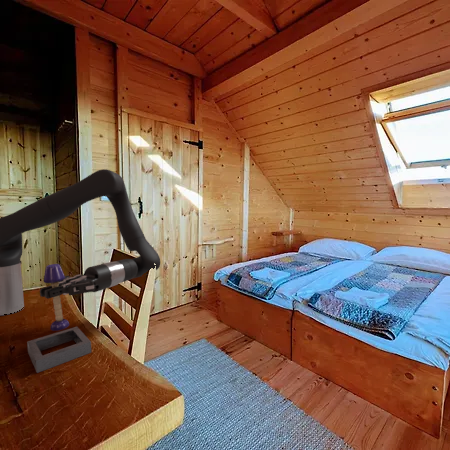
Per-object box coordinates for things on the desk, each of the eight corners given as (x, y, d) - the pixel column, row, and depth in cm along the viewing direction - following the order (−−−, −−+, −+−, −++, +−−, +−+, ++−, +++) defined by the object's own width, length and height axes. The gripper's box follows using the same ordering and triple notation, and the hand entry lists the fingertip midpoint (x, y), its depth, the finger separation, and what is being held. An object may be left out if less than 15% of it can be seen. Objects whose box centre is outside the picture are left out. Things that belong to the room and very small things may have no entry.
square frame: (36, 373, 63) (36, 360, 62) (28, 352, 71) (27, 341, 71) (91, 352, 71) (90, 341, 71) (77, 336, 80) (77, 326, 79)
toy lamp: (46, 333, 68) (41, 268, 66) (49, 325, 72) (43, 264, 70) (68, 328, 70) (63, 265, 68) (69, 321, 74) (65, 261, 72)
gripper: (90, 261, 85) (28, 275, 70) (119, 266, 78) (56, 283, 63) (92, 284, 86) (30, 303, 71) (120, 291, 79) (59, 314, 64)
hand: (43, 293), depth 67 cm, fingers closed on toy lamp
